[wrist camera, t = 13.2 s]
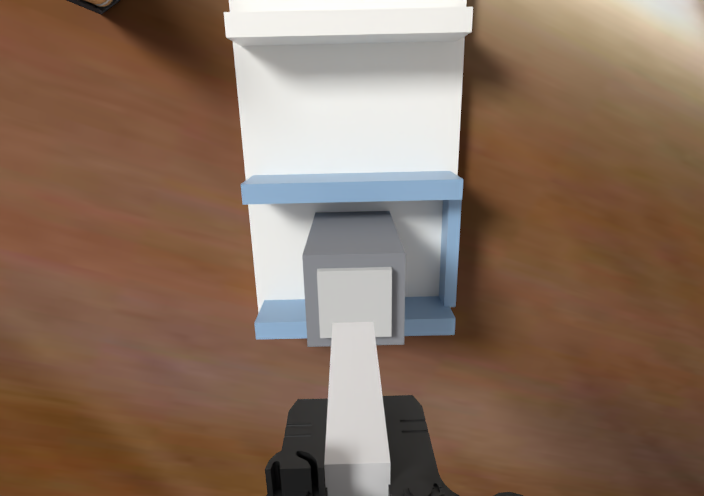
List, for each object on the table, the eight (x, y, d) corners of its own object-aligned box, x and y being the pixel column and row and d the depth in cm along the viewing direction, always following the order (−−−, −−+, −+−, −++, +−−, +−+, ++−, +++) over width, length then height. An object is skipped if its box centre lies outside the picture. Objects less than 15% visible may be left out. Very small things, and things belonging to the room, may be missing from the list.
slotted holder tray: (216, -173, 24) (188, -233, 20) (471, -178, 24) (498, -239, 20) (262, 320, 33) (249, 351, 29) (446, 315, 33) (461, 346, 29)
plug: (315, 212, 30) (301, 258, 21) (389, 210, 30) (406, 255, 21) (318, 280, 31) (307, 350, 22) (388, 279, 31) (405, 348, 22)
